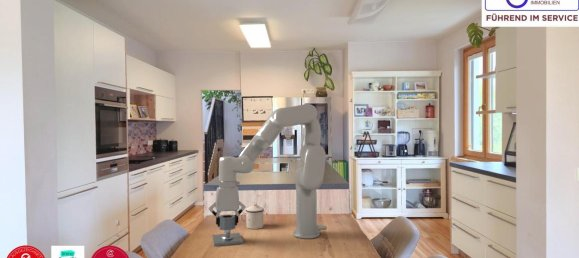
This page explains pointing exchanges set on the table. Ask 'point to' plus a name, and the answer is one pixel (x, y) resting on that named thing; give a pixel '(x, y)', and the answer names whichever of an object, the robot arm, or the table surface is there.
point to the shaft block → (227, 238)
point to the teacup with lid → (253, 217)
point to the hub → (227, 222)
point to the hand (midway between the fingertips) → (227, 225)
